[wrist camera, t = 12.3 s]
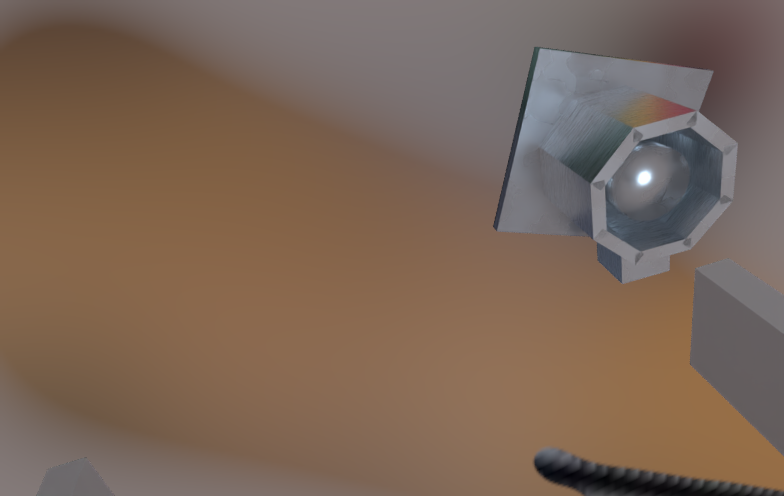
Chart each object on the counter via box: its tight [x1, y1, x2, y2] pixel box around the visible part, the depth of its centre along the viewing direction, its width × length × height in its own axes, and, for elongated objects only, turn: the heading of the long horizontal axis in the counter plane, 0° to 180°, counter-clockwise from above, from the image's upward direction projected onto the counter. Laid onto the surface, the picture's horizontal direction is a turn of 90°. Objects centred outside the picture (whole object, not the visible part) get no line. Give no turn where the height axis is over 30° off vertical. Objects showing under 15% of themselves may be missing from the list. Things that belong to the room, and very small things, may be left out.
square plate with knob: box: [493, 47, 713, 237], centre depth 35 cm, size 12×12×7 cm
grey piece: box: [539, 85, 738, 284], centre depth 35 cm, size 11×8×7 cm
